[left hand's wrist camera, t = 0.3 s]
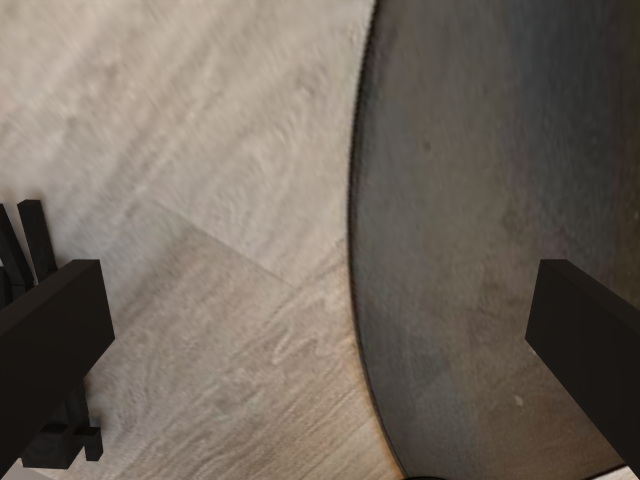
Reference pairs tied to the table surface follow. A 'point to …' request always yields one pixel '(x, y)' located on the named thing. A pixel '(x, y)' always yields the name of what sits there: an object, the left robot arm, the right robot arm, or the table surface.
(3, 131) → the table surface
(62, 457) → the toy
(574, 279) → the left robot arm
